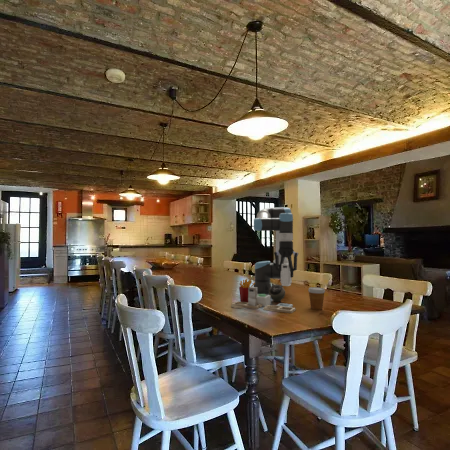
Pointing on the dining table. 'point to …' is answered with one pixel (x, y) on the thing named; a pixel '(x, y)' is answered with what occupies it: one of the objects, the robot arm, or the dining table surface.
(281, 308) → the pallet
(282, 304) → the tote
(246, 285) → the french fries
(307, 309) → the dining table surface
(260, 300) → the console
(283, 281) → the block
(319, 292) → the disposable coffee cup
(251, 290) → the pallet
